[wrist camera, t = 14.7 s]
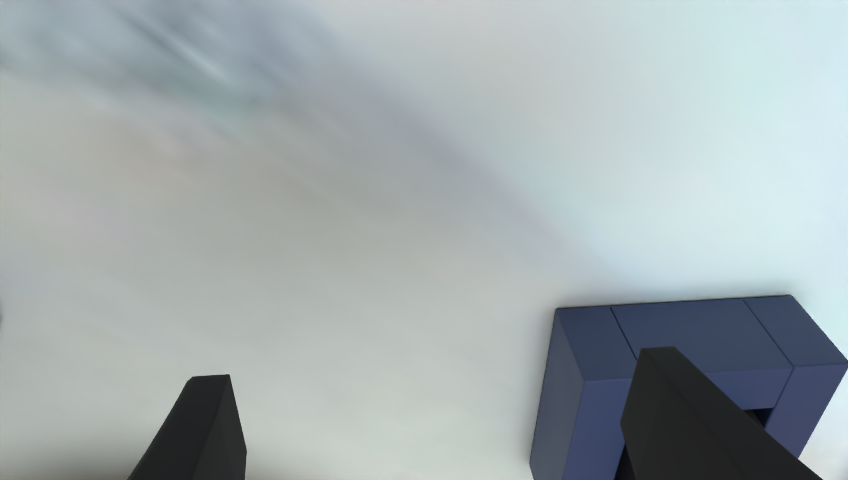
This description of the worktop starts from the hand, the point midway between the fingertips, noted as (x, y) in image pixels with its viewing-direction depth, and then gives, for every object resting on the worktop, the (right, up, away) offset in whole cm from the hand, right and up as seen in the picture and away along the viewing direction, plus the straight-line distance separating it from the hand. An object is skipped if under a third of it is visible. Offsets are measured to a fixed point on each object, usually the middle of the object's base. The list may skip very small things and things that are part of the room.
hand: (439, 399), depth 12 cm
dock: (+9, -3, +15) cm, 18 cm away
